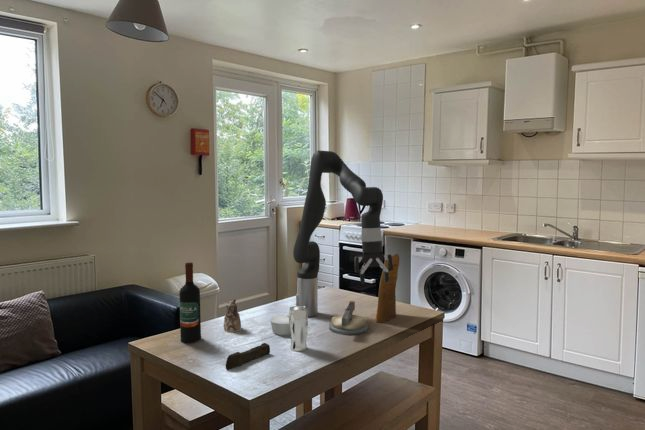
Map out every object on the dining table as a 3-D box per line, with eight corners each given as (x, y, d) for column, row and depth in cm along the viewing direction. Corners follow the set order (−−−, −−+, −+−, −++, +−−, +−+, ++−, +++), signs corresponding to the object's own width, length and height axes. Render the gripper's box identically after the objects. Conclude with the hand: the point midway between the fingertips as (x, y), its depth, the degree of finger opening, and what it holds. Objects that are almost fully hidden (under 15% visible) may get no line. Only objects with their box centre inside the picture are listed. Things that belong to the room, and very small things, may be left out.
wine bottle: (204, 337, 188) (203, 261, 186) (193, 344, 181) (191, 265, 179) (188, 335, 191) (186, 260, 188) (176, 341, 184) (174, 264, 181)
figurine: (219, 330, 197) (219, 301, 196) (230, 325, 204) (230, 297, 202) (233, 333, 194) (233, 303, 193) (244, 328, 200) (244, 299, 199)
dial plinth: (326, 333, 193) (326, 329, 193) (332, 321, 209) (332, 317, 209) (365, 335, 190) (365, 331, 190) (369, 323, 206) (369, 319, 206)
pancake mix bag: (403, 314, 219) (404, 253, 217) (384, 325, 204) (385, 260, 201) (390, 312, 223) (390, 252, 221) (370, 322, 207) (371, 258, 205)
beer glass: (305, 352, 173) (305, 311, 172) (286, 351, 174) (286, 310, 173) (309, 345, 180) (309, 306, 179) (291, 344, 181) (291, 305, 180)
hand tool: (263, 352, 174) (262, 339, 174) (270, 354, 172) (270, 342, 171) (220, 368, 160) (220, 355, 159) (228, 371, 157) (228, 358, 157)
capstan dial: (326, 332, 189) (326, 317, 188) (336, 314, 213) (336, 300, 213) (362, 335, 186) (362, 319, 186) (368, 316, 211) (368, 302, 210)
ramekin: (303, 331, 196) (303, 319, 195) (283, 338, 188) (283, 325, 187) (285, 325, 204) (285, 313, 203) (264, 332, 195) (264, 319, 195)
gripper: (388, 238, 186) (390, 280, 186) (351, 240, 185) (354, 283, 184) (392, 239, 178) (395, 282, 178) (354, 241, 177) (357, 285, 177)
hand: (374, 283), depth 181 cm, fingers open, 8 cm apart
